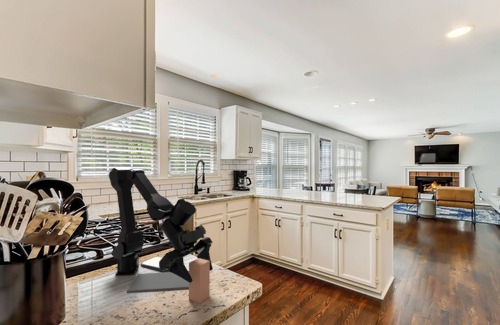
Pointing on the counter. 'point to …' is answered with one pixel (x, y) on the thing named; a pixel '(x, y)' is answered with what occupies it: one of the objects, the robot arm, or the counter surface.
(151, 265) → the smartphone
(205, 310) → the counter surface
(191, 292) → the block
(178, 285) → the mat
